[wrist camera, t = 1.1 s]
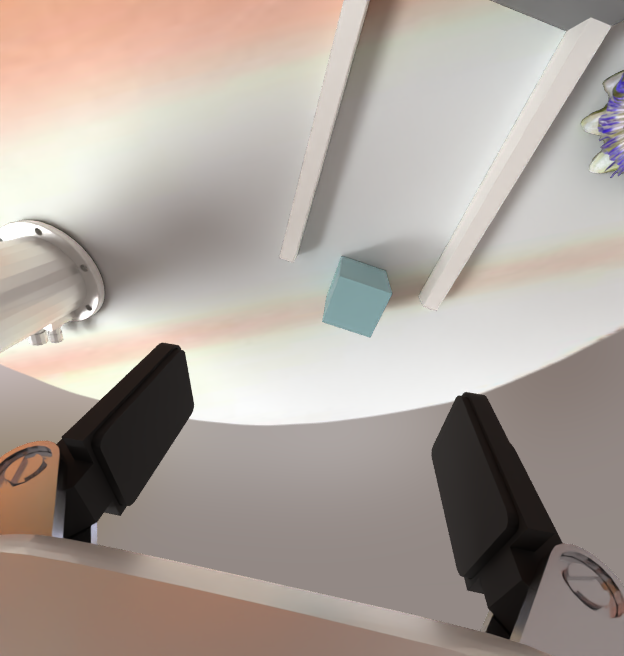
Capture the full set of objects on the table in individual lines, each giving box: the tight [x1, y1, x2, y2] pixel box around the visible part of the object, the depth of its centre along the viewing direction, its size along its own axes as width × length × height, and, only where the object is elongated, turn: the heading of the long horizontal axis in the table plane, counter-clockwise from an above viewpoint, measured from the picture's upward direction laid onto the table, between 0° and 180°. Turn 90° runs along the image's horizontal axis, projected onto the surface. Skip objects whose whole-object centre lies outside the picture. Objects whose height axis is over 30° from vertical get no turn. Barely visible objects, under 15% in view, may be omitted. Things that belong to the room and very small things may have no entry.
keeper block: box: [322, 256, 392, 337], centre depth 30 cm, size 5×5×6 cm
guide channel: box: [279, 0, 624, 311], centre depth 24 cm, size 24×17×5 cm
